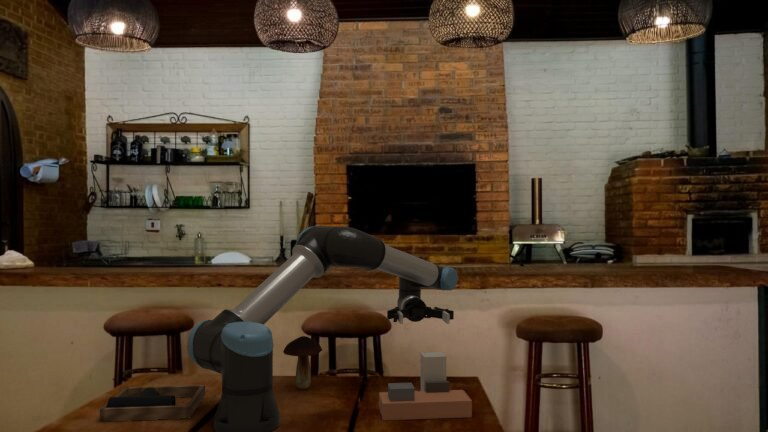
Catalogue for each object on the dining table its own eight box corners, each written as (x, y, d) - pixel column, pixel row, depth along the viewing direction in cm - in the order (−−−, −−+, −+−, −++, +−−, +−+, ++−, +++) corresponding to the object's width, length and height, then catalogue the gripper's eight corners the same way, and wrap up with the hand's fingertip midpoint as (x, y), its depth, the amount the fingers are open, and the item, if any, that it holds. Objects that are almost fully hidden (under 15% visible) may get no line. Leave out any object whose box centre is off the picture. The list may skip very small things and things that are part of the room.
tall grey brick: (423, 402, 151) (423, 357, 151) (420, 396, 156) (420, 352, 156) (446, 402, 152) (446, 356, 152) (442, 396, 157) (442, 352, 157)
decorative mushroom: (308, 396, 157) (308, 341, 157) (275, 391, 162) (275, 338, 162) (329, 386, 167) (329, 334, 167) (297, 381, 172) (297, 331, 172)
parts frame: (99, 421, 138) (99, 409, 138) (125, 398, 156) (125, 387, 156) (189, 418, 140) (190, 406, 140) (205, 395, 158) (205, 385, 158)
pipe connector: (122, 385, 150) (181, 384, 152) (122, 405, 150) (182, 403, 152) (106, 400, 139) (170, 398, 140) (106, 422, 139) (170, 420, 141)
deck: (382, 420, 139) (382, 391, 139) (376, 399, 155) (376, 373, 155) (471, 417, 141) (471, 388, 141) (456, 396, 157) (456, 371, 157)
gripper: (451, 320, 188) (467, 332, 167) (375, 320, 186) (381, 332, 165) (451, 297, 188) (467, 306, 167) (375, 296, 186) (382, 306, 165)
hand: (425, 319), depth 166 cm, fingers open, 13 cm apart
